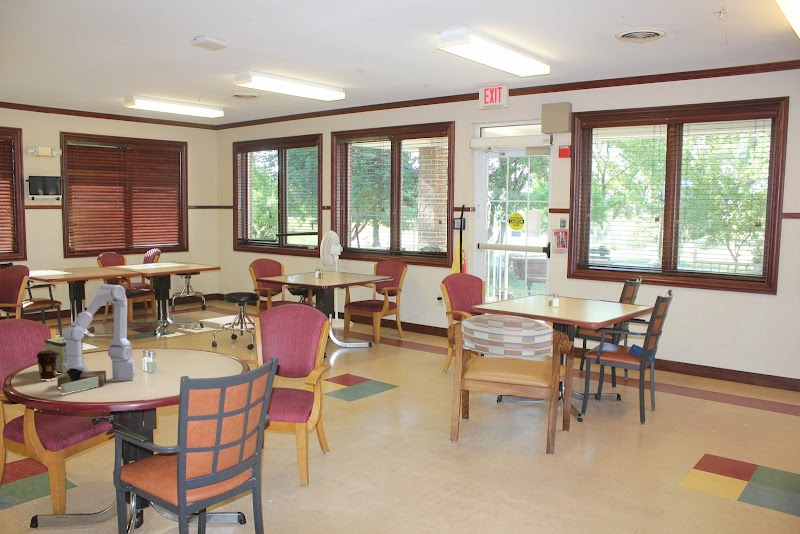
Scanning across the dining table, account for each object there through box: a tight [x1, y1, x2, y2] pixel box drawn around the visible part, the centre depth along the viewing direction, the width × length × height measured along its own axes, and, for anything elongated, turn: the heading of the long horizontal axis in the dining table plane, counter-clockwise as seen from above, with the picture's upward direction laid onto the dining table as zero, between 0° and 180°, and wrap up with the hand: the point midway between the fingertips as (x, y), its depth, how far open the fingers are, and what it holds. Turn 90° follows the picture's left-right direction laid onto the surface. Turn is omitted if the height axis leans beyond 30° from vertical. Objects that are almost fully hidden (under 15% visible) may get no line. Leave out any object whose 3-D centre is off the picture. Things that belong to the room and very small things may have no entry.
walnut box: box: [56, 370, 107, 388], centre depth 297 cm, size 18×9×5 cm, turn 105°
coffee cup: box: [36, 350, 58, 380], centre depth 306 cm, size 9×8×13 cm
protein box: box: [44, 336, 85, 374], centre depth 321 cm, size 10×16×16 cm
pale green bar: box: [60, 376, 99, 394], centre depth 287 cm, size 16×2×4 cm, turn 145°
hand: (75, 386), depth 287 cm, fingers closed
